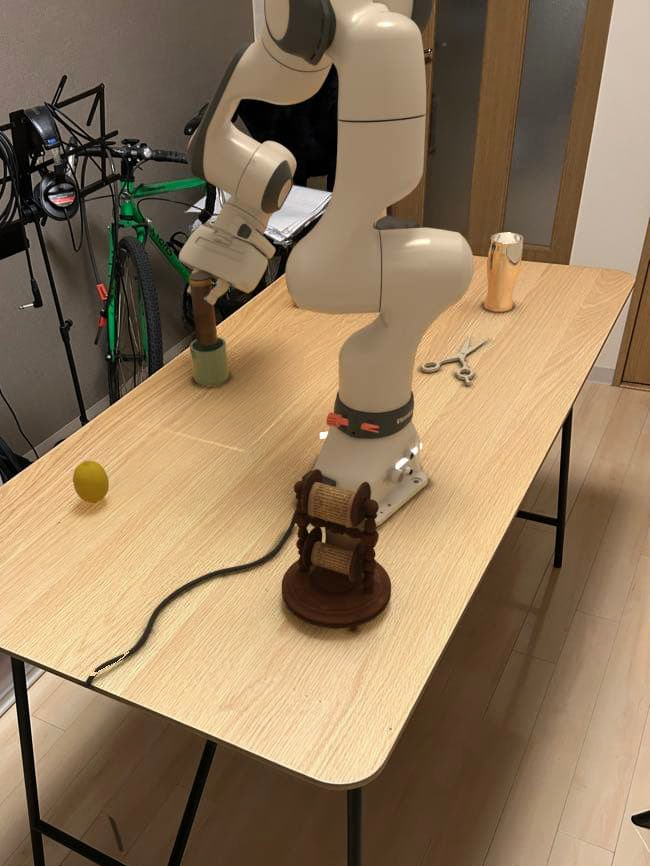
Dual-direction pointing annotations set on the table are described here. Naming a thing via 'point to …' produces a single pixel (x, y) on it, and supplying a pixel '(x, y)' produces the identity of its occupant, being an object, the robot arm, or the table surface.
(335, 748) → the table surface
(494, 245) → the beer glass
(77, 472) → the lemon
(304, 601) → the wooden twine spool holder
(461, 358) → the scissors
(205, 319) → the rod
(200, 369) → the tumbler
